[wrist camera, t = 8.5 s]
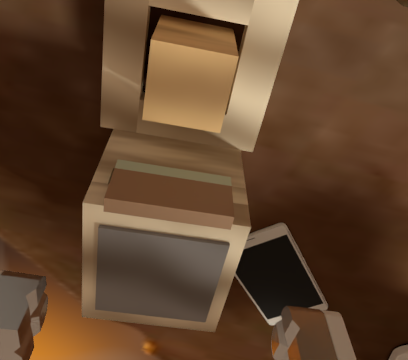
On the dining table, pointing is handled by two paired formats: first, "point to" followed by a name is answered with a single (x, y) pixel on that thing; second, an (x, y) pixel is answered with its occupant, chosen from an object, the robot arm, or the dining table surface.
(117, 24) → the beige stepped box
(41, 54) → the dining table surface
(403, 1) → the olive pepper mill
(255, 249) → the smartphone
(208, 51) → the block
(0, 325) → the robot arm
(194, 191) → the cover
